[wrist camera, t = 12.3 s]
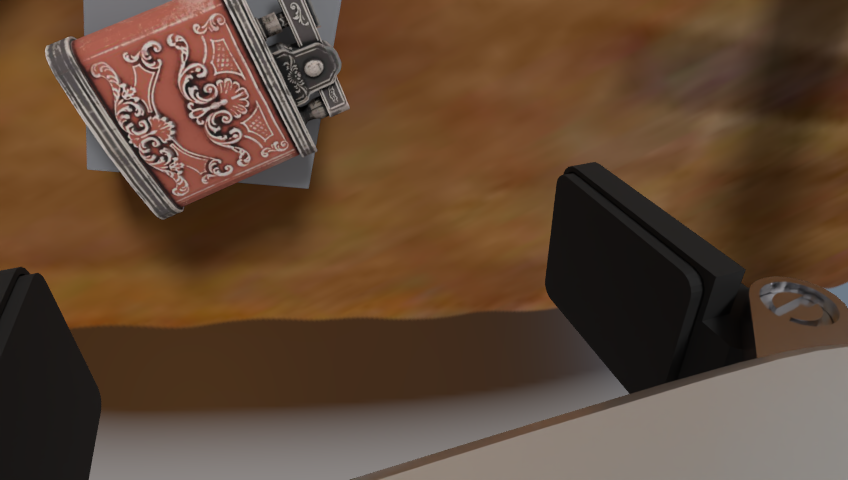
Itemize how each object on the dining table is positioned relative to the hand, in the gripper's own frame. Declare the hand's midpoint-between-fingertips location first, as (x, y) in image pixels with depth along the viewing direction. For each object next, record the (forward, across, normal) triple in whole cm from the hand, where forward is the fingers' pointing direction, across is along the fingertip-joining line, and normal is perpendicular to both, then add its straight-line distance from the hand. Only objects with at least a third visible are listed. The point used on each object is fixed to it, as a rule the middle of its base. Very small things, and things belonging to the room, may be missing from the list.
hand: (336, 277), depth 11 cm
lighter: (+16, +7, +3) cm, 18 cm away
